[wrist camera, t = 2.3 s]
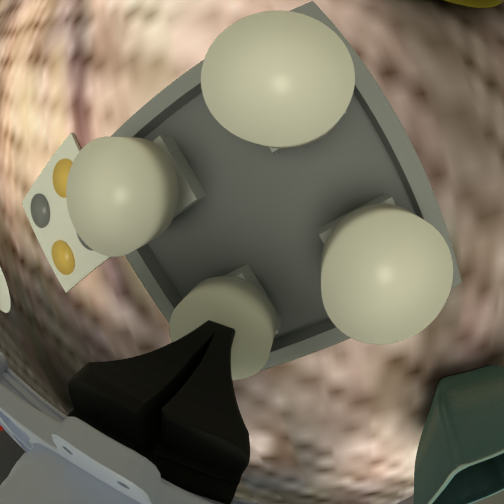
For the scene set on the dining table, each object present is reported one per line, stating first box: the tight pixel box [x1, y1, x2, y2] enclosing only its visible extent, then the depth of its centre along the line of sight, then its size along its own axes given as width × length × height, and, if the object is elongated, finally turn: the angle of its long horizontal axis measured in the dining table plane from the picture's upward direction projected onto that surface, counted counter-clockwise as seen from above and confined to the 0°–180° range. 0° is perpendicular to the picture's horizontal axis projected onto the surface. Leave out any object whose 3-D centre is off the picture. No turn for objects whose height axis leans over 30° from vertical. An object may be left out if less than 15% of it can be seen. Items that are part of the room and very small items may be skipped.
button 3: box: [169, 276, 277, 380], centre depth 15 cm, size 5×5×4 cm
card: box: [22, 133, 109, 292], centre depth 18 cm, size 9×9×1 cm
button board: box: [111, 1, 462, 370], centre depth 14 cm, size 16×16×2 cm
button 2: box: [201, 11, 355, 149], centre depth 9 cm, size 5×5×4 cm
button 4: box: [66, 137, 179, 257], centre depth 12 cm, size 5×5×4 cm
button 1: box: [321, 204, 453, 345], centre depth 11 cm, size 5×5×4 cm
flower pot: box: [413, 365, 504, 504], centre depth 11 cm, size 9×9×9 cm
